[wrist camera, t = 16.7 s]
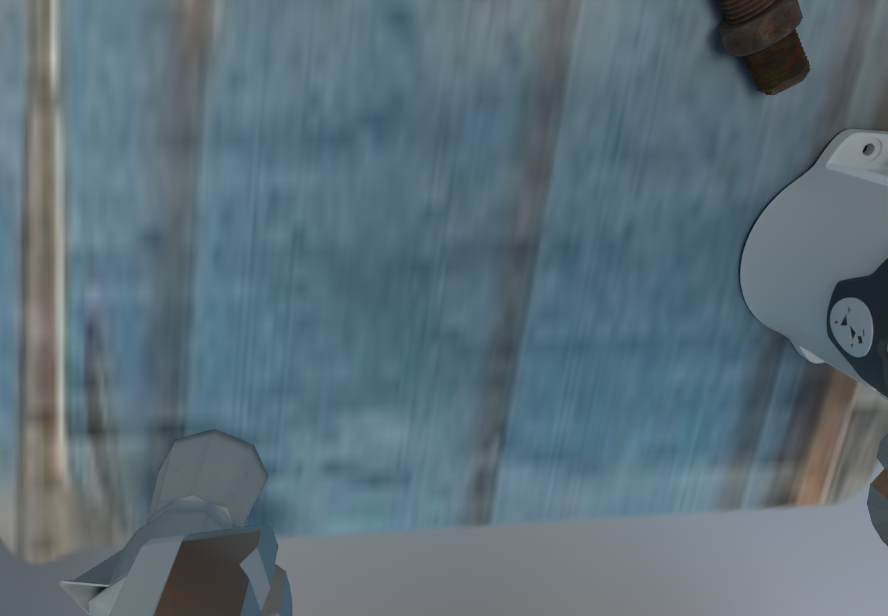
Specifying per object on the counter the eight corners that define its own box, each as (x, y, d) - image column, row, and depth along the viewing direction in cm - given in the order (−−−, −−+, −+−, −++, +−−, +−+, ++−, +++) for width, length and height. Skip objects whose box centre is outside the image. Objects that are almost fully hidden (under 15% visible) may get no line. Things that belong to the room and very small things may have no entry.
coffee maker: (119, 482, 52) (0, 694, 36) (159, 403, 49) (49, 593, 33) (285, 542, 56) (246, 756, 40) (331, 472, 54) (308, 671, 37)
